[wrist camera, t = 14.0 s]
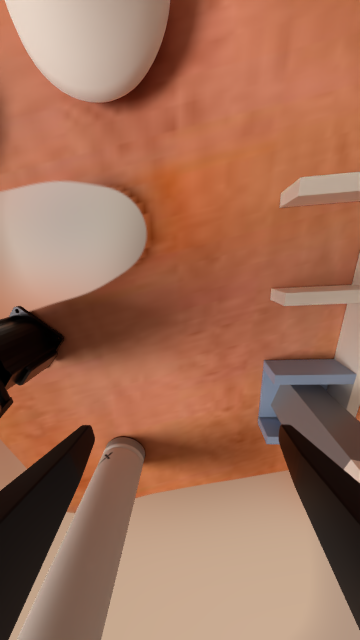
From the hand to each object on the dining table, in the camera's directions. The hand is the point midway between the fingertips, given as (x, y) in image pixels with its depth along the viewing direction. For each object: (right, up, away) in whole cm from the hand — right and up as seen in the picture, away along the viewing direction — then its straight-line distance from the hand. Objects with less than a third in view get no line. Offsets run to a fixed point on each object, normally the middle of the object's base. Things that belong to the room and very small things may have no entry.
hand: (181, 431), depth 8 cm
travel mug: (-9, -15, +20) cm, 26 cm away
